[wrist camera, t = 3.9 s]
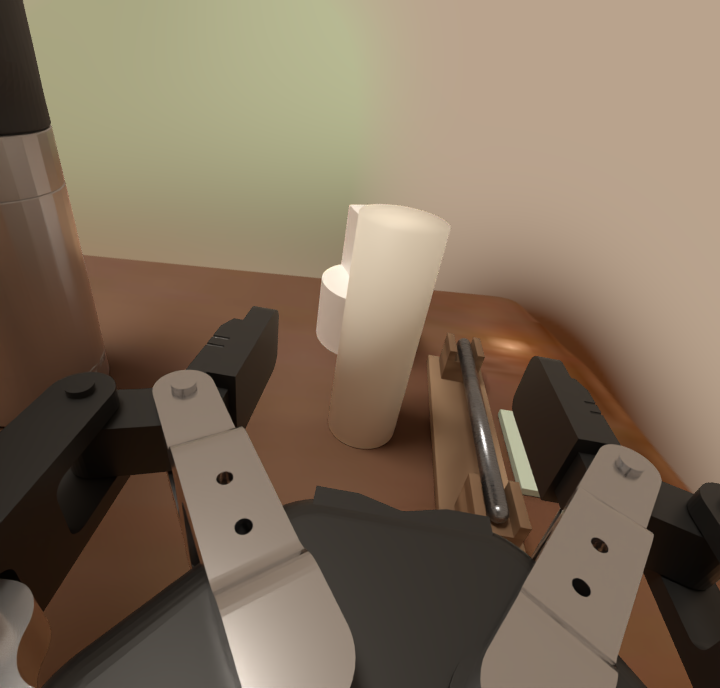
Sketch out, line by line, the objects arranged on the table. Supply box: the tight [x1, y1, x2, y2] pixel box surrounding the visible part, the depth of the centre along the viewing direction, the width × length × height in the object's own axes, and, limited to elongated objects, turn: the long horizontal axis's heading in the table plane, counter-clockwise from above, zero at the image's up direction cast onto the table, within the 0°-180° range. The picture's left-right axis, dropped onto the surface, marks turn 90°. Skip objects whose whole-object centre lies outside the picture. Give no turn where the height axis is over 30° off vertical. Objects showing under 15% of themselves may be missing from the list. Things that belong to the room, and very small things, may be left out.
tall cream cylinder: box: [328, 204, 451, 449], centre depth 27 cm, size 5×5×16 cm
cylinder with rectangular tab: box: [316, 205, 366, 355], centre depth 39 cm, size 9×9×12 cm
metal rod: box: [457, 338, 509, 524], centre depth 30 cm, size 1×18×1 cm, turn 175°
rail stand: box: [427, 333, 532, 553], centre depth 30 cm, size 5×20×4 cm, turn 174°
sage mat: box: [498, 409, 540, 497], centre depth 31 cm, size 8×8×1 cm
